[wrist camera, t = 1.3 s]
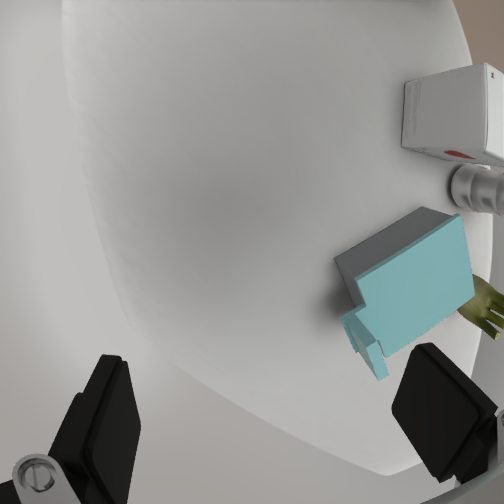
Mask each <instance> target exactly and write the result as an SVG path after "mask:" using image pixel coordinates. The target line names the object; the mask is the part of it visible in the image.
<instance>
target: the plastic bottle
mask: <svg viewBox="0 0 504 504" xmlns="http://www.w3.org/2000/svg"><path fill="white" fill-rule="evenodd" d="M451 193H452V196H453V199H454V201H455V202H456V204H457V205H458V206H459V207H461V208H462V209H464V210H466V211H468V212H485V213H491V214H496V215H499V216H502V217H504V173H500V172H497V171H492V170H489V169H487V168H484V167H482V166H479V165H475V164H470V165H464V166H462V167H460V168H459V169H458V170H457V171H456V172H455V174H454V176H453V178H452V181H451Z"/></svg>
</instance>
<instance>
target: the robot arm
mask: <svg viewBox="0 0 504 504" xmlns="http://www.w3.org/2000/svg"><path fill="white" fill-rule="evenodd" d="M497 408H498V407H497V406H496V404H494V403H493V402H492V401H491V399H490V398H489V397H488V396H486V394H485V393H484V392H483V391H482V390H481V389H480V388H479V387H478V386H477V385H476V384H475V383H474V382H473V381H472V380H471V379H470V378H469V377H468V376H467V375H466V374H465V373H464V372H462V371H461V370H460V369H459V368H458V367H457V366H456V365H455V364H454V363H453V362H452V361H451V360H450V359H449V358H448V357H447V356H446V355H445V354H444V353H443V352H442V351H441V350H440V349H438V348H437V347H436V346H435V345H434V344H433V343H424V344H418V345H416V346H415V348H414V349H413V350H412V351H411V353H410V356H409V359H408V363H407V366H406V368H405V371H404V374H403V377H402V380H401V383H400V385H399V388H398V391H397V394H396V396H395V399H394V401H393V404H392V414H393V416H394V417H395V419H396V420H397V422H398V423H399V425H400V426H401V428H402V430H403V431H404V433H405V434H406V436H407V437H408V439H409V440H410V442H411V444H412V445H413V447H414V448H415V450H416V451H417V453H418V455H419V456H420V458H421V459H422V461H423V462H424V464H425V466H426V467H427V469H428V470H429V472H430V473H431V475H432V476H433V477H436V478H437V480H438V481H439V483H441V482H444V481H446V480H448V479H450V478H452V476H453V475H455V476H456V481H455V487H454V489H452V490H450V491H448V492H446V493H444V494H442V495H440V496H437V497H435V498H433V499H430V500H428V501H426V502H423V503H421V504H504V410H502V411H501V412H499V414H498V416H497V417H496V416H495V415H494V413H495V412H496V410H497ZM140 423H141V422H140V418H139V414H138V410H137V405H136V401H135V397H134V392H133V388H132V383H131V378H130V373H129V368H128V363H127V362H126V361H122V358H121V357H120V356H115V355H104V354H103V355H102V356H101V357H100V359H99V361H98V363H97V365H96V367H95V369H94V371H93V373H92V375H91V377H90V379H89V381H88V383H87V385H86V387H85V389H84V392H83V393H80V392H79V393H77V394H76V396H75V397H74V399H73V401H72V403H71V405H70V407H69V409H68V412H67V413H66V415H65V418H64V420H63V422H62V424H61V426H60V428H59V431H58V433H57V435H56V437H55V439H54V442H53V444H52V446H51V449H50V451H49V453H48V456H46V455H44V454H31V455H27V456H25V457H23V458H21V459H20V460H19V461H18V462H17V463H16V465H15V466H14V468H13V473H12V477H13V479H12V480H9V481H7V482H4V483H1V484H0V504H127V500H128V494H129V488H130V483H131V477H132V472H133V466H134V461H135V456H136V451H137V445H138V441H139V436H140V431H141V424H140Z"/></svg>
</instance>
